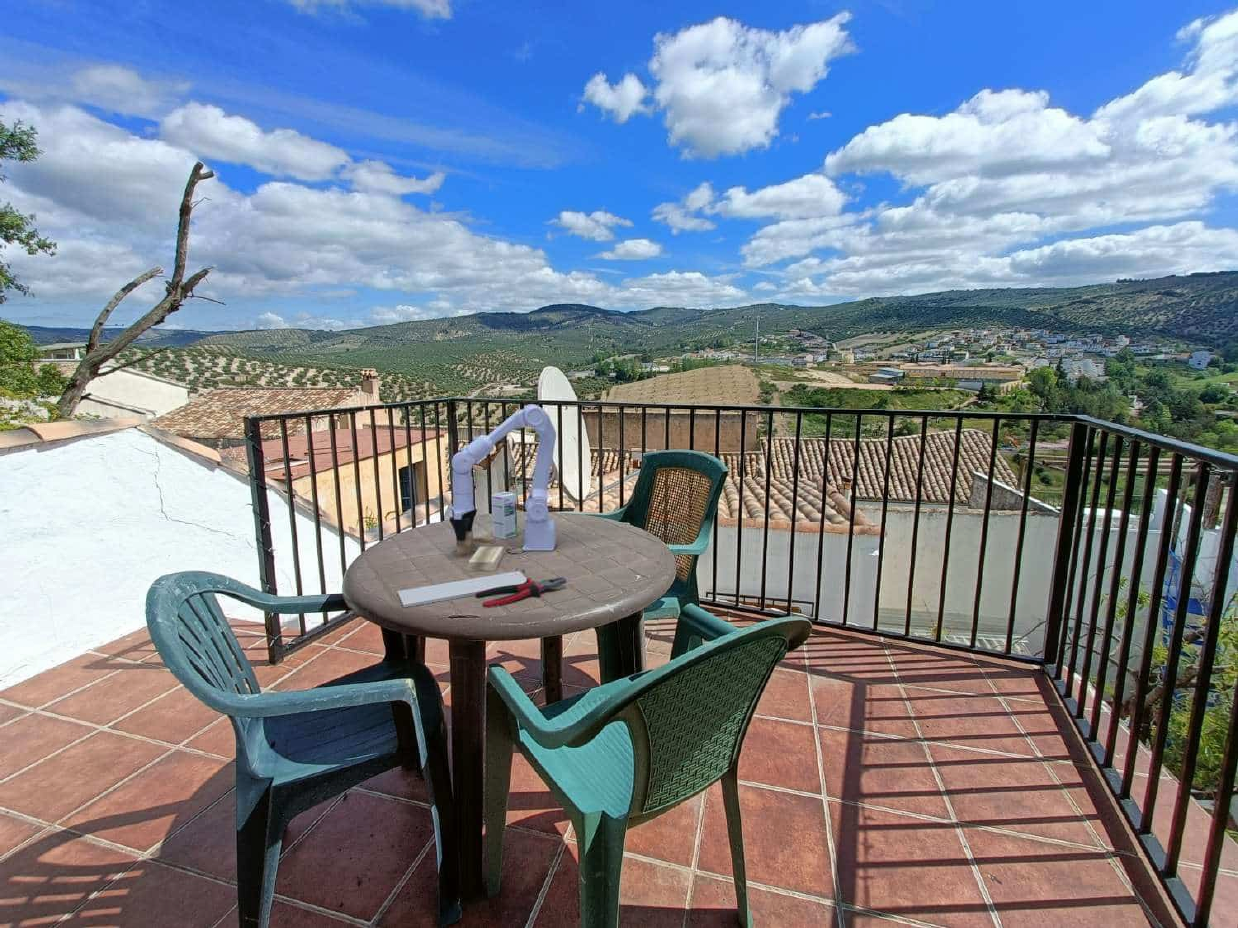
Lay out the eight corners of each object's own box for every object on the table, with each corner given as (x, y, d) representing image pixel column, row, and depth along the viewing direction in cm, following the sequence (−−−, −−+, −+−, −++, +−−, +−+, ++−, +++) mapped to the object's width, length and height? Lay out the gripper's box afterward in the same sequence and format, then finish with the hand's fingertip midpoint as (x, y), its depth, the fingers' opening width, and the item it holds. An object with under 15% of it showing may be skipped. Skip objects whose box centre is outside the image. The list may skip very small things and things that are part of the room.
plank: (503, 554, 171) (503, 546, 170) (494, 570, 157) (494, 561, 156) (480, 554, 170) (479, 546, 170) (468, 570, 157) (468, 561, 156)
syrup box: (504, 539, 186) (503, 496, 183) (492, 536, 189) (491, 493, 187) (517, 535, 190) (516, 493, 188) (505, 532, 194) (504, 490, 191)
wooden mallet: (496, 550, 175) (495, 531, 174) (493, 554, 171) (493, 535, 170) (460, 550, 175) (459, 531, 174) (456, 554, 171) (456, 534, 170)
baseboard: (396, 593, 142) (403, 610, 132) (395, 581, 142) (403, 598, 131) (516, 573, 157) (531, 587, 146) (515, 562, 156) (531, 576, 146)
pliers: (483, 601, 131) (571, 579, 142) (474, 588, 139) (558, 568, 149) (484, 613, 132) (572, 591, 142) (475, 600, 140) (558, 579, 150)
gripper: (455, 487, 177) (457, 530, 179) (442, 497, 163) (444, 543, 165) (478, 487, 177) (479, 530, 179) (467, 498, 163) (468, 544, 165)
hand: (464, 536), depth 172 cm, fingers open, 7 cm apart
